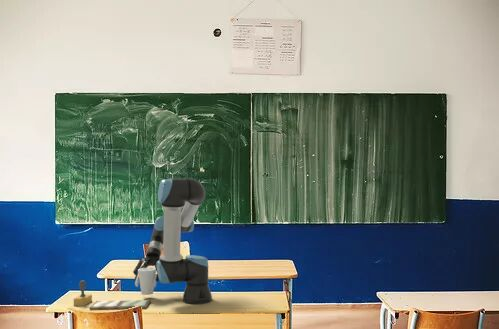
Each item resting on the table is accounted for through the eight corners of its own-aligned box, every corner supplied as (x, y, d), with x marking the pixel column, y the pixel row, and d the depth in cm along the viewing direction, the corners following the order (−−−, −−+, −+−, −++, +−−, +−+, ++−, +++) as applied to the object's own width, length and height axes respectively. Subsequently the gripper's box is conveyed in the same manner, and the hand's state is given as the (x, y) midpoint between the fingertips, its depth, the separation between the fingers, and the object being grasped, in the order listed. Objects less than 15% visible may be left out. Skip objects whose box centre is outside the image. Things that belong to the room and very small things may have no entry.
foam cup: (152, 295, 290) (151, 271, 290) (135, 295, 292) (135, 270, 292) (158, 291, 300) (158, 267, 300) (142, 291, 302) (142, 267, 302)
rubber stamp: (81, 300, 292) (81, 278, 292) (92, 301, 291) (91, 278, 291) (73, 305, 282) (73, 282, 282) (84, 306, 282) (83, 282, 282)
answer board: (150, 302, 287) (150, 299, 287) (146, 308, 274) (146, 306, 274) (96, 302, 287) (96, 300, 287) (89, 309, 274) (89, 307, 274)
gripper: (175, 255, 309) (166, 289, 294) (137, 254, 313) (127, 289, 297) (172, 247, 304) (163, 281, 289) (133, 246, 308) (123, 281, 292)
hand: (145, 285), depth 293 cm, fingers closed on foam cup, 9 cm apart
